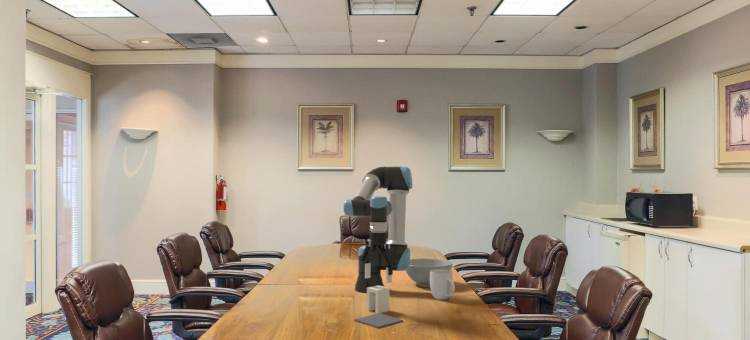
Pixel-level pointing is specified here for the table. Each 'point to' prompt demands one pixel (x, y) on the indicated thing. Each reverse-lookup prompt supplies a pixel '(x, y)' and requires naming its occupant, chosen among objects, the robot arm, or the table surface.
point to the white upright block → (378, 299)
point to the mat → (378, 320)
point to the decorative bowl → (425, 269)
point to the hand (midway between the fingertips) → (378, 280)
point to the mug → (441, 284)
